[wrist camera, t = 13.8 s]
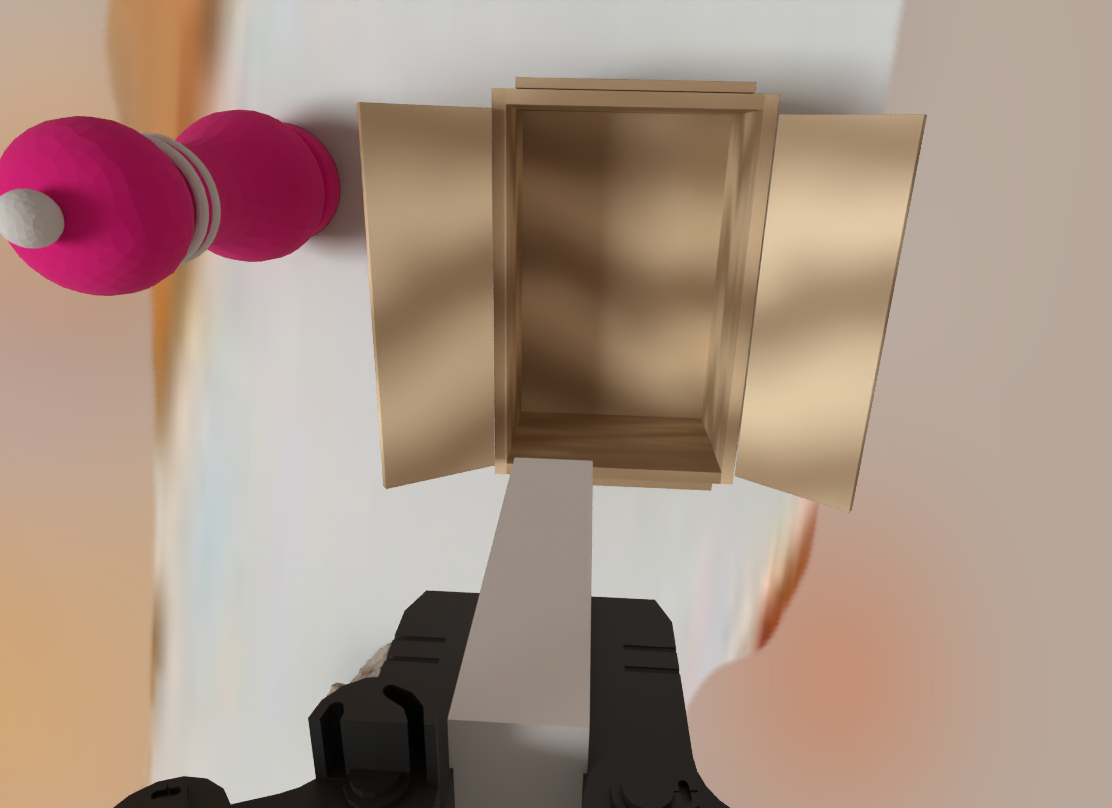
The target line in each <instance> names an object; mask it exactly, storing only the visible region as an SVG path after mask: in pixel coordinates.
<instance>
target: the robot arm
mask: <svg viewBox="0 0 1112 808" xmlns="http://www.w3.org/2000/svg"><path fill="white" fill-rule="evenodd" d="M592 487H593V461H586V460H562V459H539V458H514V462H513V466H512V470H511V474H510V478H509V482H508V486H507V489H506V493H505V497H504V501H503V505H502V509H501V513H500V517H499V521H498V525H497V528H496V532H495V536H494V540H493V544H492V548H491V552H490V556H489V560H488V563H487V567H486V571H485V575H484V579H483V583H482V587H481V591H480V593H465V592H445V591H426V592H424V593H423V594H422V595H421V596H420V597H419V598H418V599H417V600H416V601H415V602H414V603H413V604H411V605H410V606H409V607H408V608H407V609H406V610H405V611H404V614H403V616H402V619H401V621H400V624H399V626H398V629H397V631H396V634H395V639H394V640H393V641H392V643H391V646H390V648H389V651H388V653H387V658H386V661H384V663H383V666H382V668H381V671H380V673H379V676H378V677H369V678H363V679H361V680H358V681H355V682H352V683H349V684H347V685H344V686H341V687H340V688H338V689H337V690H336V691H334V692H333V693H331V694H330V695H328V696H327V697H325V698H324V699H323V700H321V702H320V703H319V704H318V706H317V707H316V708H315V710H314V711H313V712H312V714H311V715H310V716H309V718H308V721H309V728H310V736H311V744H312V751H313V759H314V767H315V775H316V779H314V780H312V781H310V782H309V783H307V784H305V785H303V786H301V787H299V788H296V789H293V790H289V791H286V792H283V793H280V794H276V795H271V796H267V797H262V798H258V799H253V800H249V801H244V802H240V803H235V804H230V802H229V800H228V798H227V795H226V793H225V791H224V789H223V788H222V787H220V786H218V785H217V784H215V783H213V782H212V781H210V780H209V779H206V778H196V777H186V776H183V777H178V778H173V779H169V780H164V781H159V782H156V783H154V784H152V785H150V786H148V787H145V788H143V789H141V790H139V791H137V792H135V793H133V794H131V795H129V796H128V797H126V798H125V799H124V800H123V801H121V802H120V803H119V804H118V805H116V806H115V807H114V808H730V807H728V806H727V805H725V804H724V803H723V802H721V801H720V800H719V799H718V798H717V797H716V796H715V795H714V794H713V793H712V792H711V791H710V790H709V789H708V788H707V787H706V785H705V784H704V782H703V780H702V779H701V777H700V775H699V774H698V772H697V769H696V766H695V762H694V759H693V755H692V748H691V742H690V736H689V730H688V723H687V716H686V710H685V703H684V697H683V690H682V684H681V677H680V674H679V664H678V658H677V653H676V645H675V639H674V632H673V626H672V622H671V620H670V619H669V618H668V616H667V615H666V614H665V612H664V611H663V610H662V608H661V607H660V606H659V605H658V603H657V602H656V601H655V600H648V599H628V598H608V597H591V567H592Z"/></svg>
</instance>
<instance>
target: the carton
mask: <svg viewBox="0 0 1112 808" xmlns="http://www.w3.org/2000/svg"><path fill="white" fill-rule="evenodd" d="M516 88H517V89H502V88H492V181H493V299H494V417H495V474H511V470H512V466H513V462H514V458H539V459H562V460H586V461H593V485H601V486H623V487H646V488H668V489H690V490H711V487H712V483H715V484H732V483H733V475H734V467H735V459H736V451H737V442H738V434H739V426H740V418H741V410H742V401H743V393H744V385H745V377H746V369H747V360H748V352H749V344H750V336H751V328H752V319H753V311H754V303H755V295H756V287H757V278H758V270H759V262H760V254H761V246H762V237H763V229H764V221H765V213H766V205H767V197H768V188H769V180H770V172H771V164H772V156H773V147H774V139H775V131H776V123H777V115H778V106H779V98H780V94H752V93H755V90H756V82H726V81H677V80H628V79H578V78H529V77H516Z"/></svg>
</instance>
